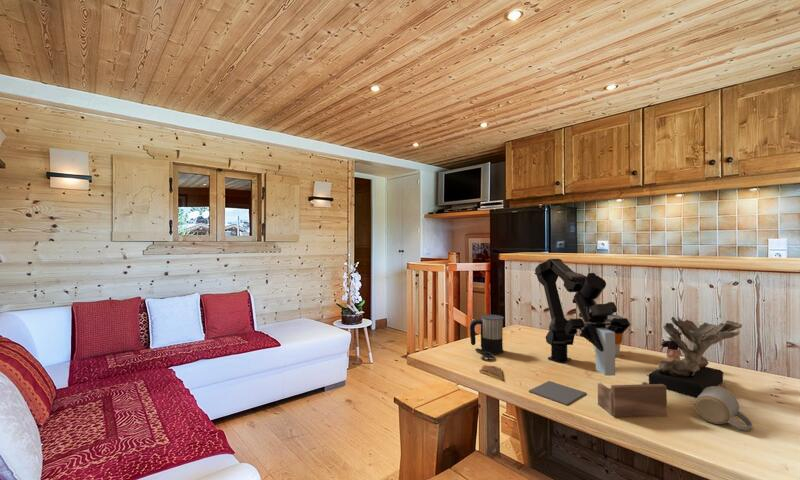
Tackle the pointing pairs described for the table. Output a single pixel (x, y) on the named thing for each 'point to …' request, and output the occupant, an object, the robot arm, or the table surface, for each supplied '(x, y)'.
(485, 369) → the shard
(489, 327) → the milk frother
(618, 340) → the reusable coffee cup
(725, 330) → the driftwood sculpture
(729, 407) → the ceramic mug
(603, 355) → the pale grey rectangular block
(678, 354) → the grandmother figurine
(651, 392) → the brown wooden box
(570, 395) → the rubber mat
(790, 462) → the table surface
